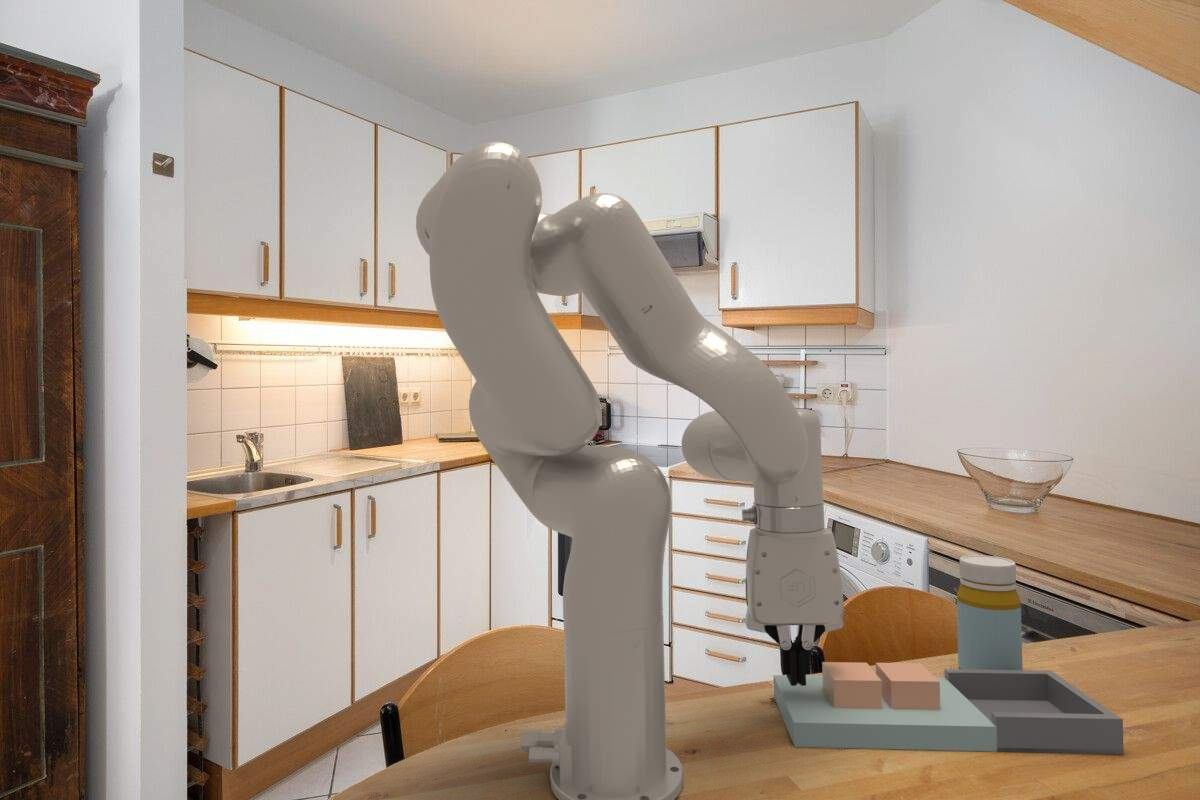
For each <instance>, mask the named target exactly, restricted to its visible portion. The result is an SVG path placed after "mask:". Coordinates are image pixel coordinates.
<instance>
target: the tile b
mask: <svg viewBox="0 0 1200 800" xmlns="http://www.w3.org/2000/svg"><path fill="white" fill-rule="evenodd" d="M875 673H876V675H877V676H878V677H879V678H880V679H881V681H882V697H883V698H884V699H885V701H886V702H887V703H888V705H889V706H890V707H891V709H919V710H940V682H939V681H938V680H937V679H936V678H935V677H936V676H935V675H933V674H932V673H931V672H930V671H929V669H927V668H926V667H925V666H924V665H923V664H922V663H921V662H920V663H919V662H918V663H917V662H911V663H909V662H875Z"/></svg>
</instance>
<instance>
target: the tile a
mask: <svg viewBox="0 0 1200 800" xmlns="http://www.w3.org/2000/svg"><path fill="white" fill-rule="evenodd" d="M821 664H822V669H821V670H822V676H823V689H824V691H825V693H826V694H827V696H828V698H829V699H830V701H831V703H832V705H833V706H834V708H864V709H882V681H881V679H880V678H879V677H878V676H877V675H876V671H875V670H873V668H872V667H871V666H870V665H869V663H868V662H855V661H854V662H850V661H849V662H847V661H845V662H844V661H843V662H842V661H841V662H839V661H836V662H835V661H834V662H833V661H828V662H827V661H821Z"/></svg>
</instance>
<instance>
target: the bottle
mask: <svg viewBox="0 0 1200 800" xmlns="http://www.w3.org/2000/svg"><path fill="white" fill-rule="evenodd" d="M959 575H960V577H959V578H960V579H959V582H960V584H959V587H958V589H957V592H956V617H957V618H956V619H957V621H956V622H957V623H956V624H957V659H958V662H957V663H958V669H973V670H1023V669H1024V668H1023V639H1022V638H1023V635H1022V605H1021V599H1020V596H1019V594H1018V591H1017V582H1016V581H1017V564H1016V562H1015V561H1014V560H1012V559H1009V558H1006V557H1005V558H1004V557H1000V556H994V555H993V556H991V555H981V554H973V555H972V554H969V555H964V556H960V557H959Z"/></svg>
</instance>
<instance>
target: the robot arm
mask: <svg viewBox="0 0 1200 800" xmlns="http://www.w3.org/2000/svg"><path fill="white" fill-rule="evenodd" d="M542 202H543V192H542V185H541V181H540V177H539V174H538V173H537V171H536V168H535V167H534V165H533V164H532V162H531V161H530V159H529V158H528V157H527V155H526V154H525V153H523V152H522V151H521V150H520V149H519V148H517V147H515V146H514V145H512V144H509V143H506V142H503V141H489V142H484V143H481V144H478V145H476V146H474V147H472V148H470V149H468V150H467V151H466V152H464V153H463V154H462V155H461V156H459V157H458V158H457V159H456V160H455V161H454V162H453V163H452V164H451V165H450V166H449V167H448V168H447V170H446V171H445V172H444V173H443V174H442V176H441V177H439V180H438V181H436V183H435V184H434V185H433V186H432V187H431V188H430V190H429V191H428V192H427V193H426V195H425V196H424V197H423V199H422V200H421V202H420V204H419V206H418V209H417V213H416V217H415V221H416V222H415V229H416V235H417V238H418V240H419V242H420V245H421V246H422V248H423V249H424V251H425V252H426V254H427V255H428V256H429V277H430V278H429V279H430V287H431V293H432V298H433V302H434V306H435V308H436V312H437V315H438V317H439V320H440V322H441V323H442V326H443V329H444V330H445V332H446V334H447V336H448V337H449V339H450V341H451V342H452V344H453V346H454V347H455V349H456V350H457V352H458V354H459V355H460V357H461V358H462V360H463V363H465V365H466V367H467V369H468V370H469V372H470V373H471V375H472V376H473V378H474V380H475V382H474V384H473V386H472V388H471V391H470V395H469V400H468V401H469V402H468V411H469V418H470V421H471V425H472V428H473V432H474V433H475V435H476V437H477V438H478V440H479V442H480V444H481V445H482V446H483V449H484V450H485V451H486V452H487V454H488V455H489V457H490V459H491V460H492V461H493V462H494V464H495V465H496V467H497V468H498V470H499V471H500V472H501V474H502V475H503V476H504V478H505V480H506V481H507V482H508V484H509V486H511V488H512V490H513V491H514V492H515V493H516V495H517V497H519V499H520V500H521V501H522V503H523V504H524V506H525V507H526V508H527V510H528V511H529V512H530V513H531V514H532V515H533V517H534V518H535V519H536V520H538V522H540V524H542V525H543V526H545V527H546V528H548V529H550V530H551V531H554V532H557V533H559V534H561V535H565V536H567V537H570V538H571V547H570V553H569V557H568V559H567V564H566V568H565V572H564V579H563V586H562V587H563V588H562V619H563V655H564V656H563V657H564V659H563V660H564V703H565V705H564V706H565V710H564V711H565V723H564V726H563V727H555V728H554V731H544V730H543V731H542V730H541V729H523V730H522V733H521V742H520V750H521V752H522V753H528V763H529V764H544V763H545V764H546V763H547V764H548V763H549V764H551V767H550V773H549V775H550V777H549V780H550V781H549V782H550V788H551V791H552V793H553V795H554V796H555V797H556V798H557V799H558V800H676V798H677V797H678V796H679V795H680V793H681V792H682V788H683V785H684V768H683V764H682V763H681V761H680V759H679V758H678V756H677V755H676V754H675V753H674V752H673V751H672V750H671V749H669V748H667V726H666V725H667V724H666V723H667V722H666V682H665V681H666V678H665V675H666V674H665V673H666V672H665V638H664V637H665V631H664V630H665V629H664V628H665V627H664V623H665V622H664V600H663V599H664V596H663V595H664V594H663V592H664V591H663V590H664V589H663V587H664V586H663V585H664V584H663V582H664V562H665V561H664V559H665V552H666V543H667V538H668V532H669V527H670V521H671V514H672V513H671V511H672V498H671V491H670V486H669V484H668V481H667V479H666V477H665V475H664V473H663V472H662V470H661V469H660V468H659V467H658V466H657V464H655V462H653V461H652V460H651V459H650V458H649V457H647V456H646V455H644V454H642V453H640V452H637V451H635V450H632V449H629V448H624V447H617V446H608V445H607V446H606V445H605V446H604V445H589V443H591V441H592V440H593V439H594V438H595V436H596V434H597V432H598V431H599V428H600V426H601V423H602V422H601V421H602V406H601V401H600V398H599V397H600V396H599V394H598V391H597V389H596V388H595V386H594V385H593V383H592V381H591V380H590V378H589V376H588V375H587V373H586V371H585V369H584V368H583V367H582V366H581V364H580V363H579V361H578V359H577V358H576V356H575V354H574V353H573V352H572V351H573V350H571V349H570V347H569V345H568V344H567V342H566V341H565V339H564V338H563V337H564V336H562V334H561V332H560V331H559V330H558V328H557V326H556V325H555V323H554V321H553V320H552V318H551V317H550V314H549V313H548V311H547V309H546V307H545V306H544V304H543V303H542V300H541V297H539V294H543V295H549V296H556V297H570V296H575V295H578V294H580V293H583V295H584V297H585V298H586V300H587V301H588V302H589V304H590V305H591V306H592V308H593V310H594V311H595V312H596V314H597V315H598V317H599V318H600V320H601V322H602V323H603V324H604V326H605V328H606V329H607V330H608V332H609V333H610V334H611V336H612V338H613V339H614V341H615V342H616V344H617V345H618V346H619V348H620V350H621V351H622V353H623V355H624V356H625V358H626V359H627V360H628V361H629V362H630V363H631V364H632V365H634V366H635V367H636V368H639V369H640V370H641V371H644V372H645V373H648V374H649V375H651V376H653V377H655V378H657V379H661V380H663V381H665V382H668V383H670V384H672V385H676V386H677V387H679V388H682V389H683V390H686V391H687V392H690V393H691V394H693V395H695V396H696V397H698V399H700V400H702V401H703V402H705V403H706V404H707V405H708V406H709V407H711V408H712V409H713V411H709V412H705V413H703V414H700V415H698V416H697V417H695V418H693V420H692V421H691V422H690V423H689V424H688V425H687V426H686V428H685V429H684V432H683V434H682V438H681V444H680V445H681V446H680V447H681V453H682V456H683V458H684V460H685V461H686V463H687V464H688V465H689V467H691V469H692V470H694V471H695V472H697V473H698V474H700V475H702V476H705V477H707V478H712V479H716V480H723V481H731V482H732V481H733V482H742V483H744V482H745V483H749V484H750V483H751V484H753V497H754V499H753V500H754V501H753V502H752V503H753V505H751V507H749V508H746V509H741V519H742V520H741V521H742V522H749V523H752V524H753V525H754V526H755V527H753V528H751V529H750V530H749V535H748V540H747V541H748V542H747V546H746V547H747V549H746V562H745V564H746V565H745V601H746V606H747V608H746V609H747V610H746V613H745V619H744V624H745V626H746V628H747V630H750V631H753V632H754V631H755V632H758V633H765V634H767V635H768V636H769V637H770V638H771V639H772V640H773V641H775V642H776V644H777V645H779V654H780V655H779V656H780V657H779V658H780V670H781V671H780V672H781V675H787V678H788V680H789V682H790V684H791V686H796V684H798V683H799V684H800V685H801V686H806V676H811V653H810V651H811V650H812V648H813V647H814V644H815V642H816V641H817V640H819V639H820V637H821V636H823V635H824V633H826V632H827V633H828V632H832V631H833V632H834V631H835V630H840V629H842V628H843V627H844V621H843V618H844V614H845V613H844V611H845V605H844V590H843V583H842V576H841V569H840V562H839V561H840V560H839V554H838V549H837V543H836V540H835V536H834V533H833V531H832V530H830V529H829V528H826V527H825V509H824V508H825V507H824V504H825V503H824V485H823V465H822V464H823V463H822V462H823V460H822V459H823V458H822V439H821V438H822V435H821V423H820V418H819V416H818V414H817V413H816V412H815V411H814V410H810V409H807V408H796V406H795V405H794V403H793V401H792V399H791V398H790V396H789V394H788V393H787V391H786V389H785V388H784V386H783V385H782V383H781V382H780V380H779V378H778V377H777V376H776V374H775V373H774V372H773V371H772V370H771V368H769V367H768V366H767V364H765V362H763V361H762V359H760V358H759V357H758V356H757V355H756V354H754V353H753V352H752V351H751V350H749V349H748V348H747V347H745V346H744V345H742V344H741V343H740V342H739V341H737V340H736V339H735V338H733V337H732V336H731V335H729V334H728V333H727V332H726V331H724V330H722V329H721V328H719V327H718V326H716V325H715V324H714V323H712V322H710V321H709V320H708V319H706V318H705V317H704V316H703V314H701V313H700V312H699V310H698V309H697V307H696V306H695V304H694V303H693V301H692V300H691V298H690V295H689V294H688V293H687V291H686V290H685V288H684V287H683V285H682V284H681V281H680V280H679V277H677V275H676V273H675V271H674V270H673V269H672V267H671V265H670V263H668V260H667V259H666V257H665V255H664V253H663V252H662V251H661V249H660V247H659V246H658V244H657V242H656V241H655V239H654V238H653V235H652V234H651V233H650V231H649V230H648V228H647V226H646V224H645V223H644V222H643V220H642V218H641V217H640V216H639V214H638V213H637V211H636V210H635V208H634V207H633V206H632V205H631V204H630V203H629V202H628V201H627V200H626V199H625V198H624V197H622V196H619V195H616V194H613V193H608V192H600V193H593V194H590V195H588V196H584V197H581V198H579V199H577V200H575V201H574V202H572V203H570V204H568V205H567V206H565V207H563V208H561V209H560V210H558V211H556V212H554V213H547V212H546V213H545V212H542V211H541V210H542V204H543V203H542ZM789 626H797V632H796V633H797V634H796V637H795V639H794V640H792V638H791V635H790V631H789Z"/></svg>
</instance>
